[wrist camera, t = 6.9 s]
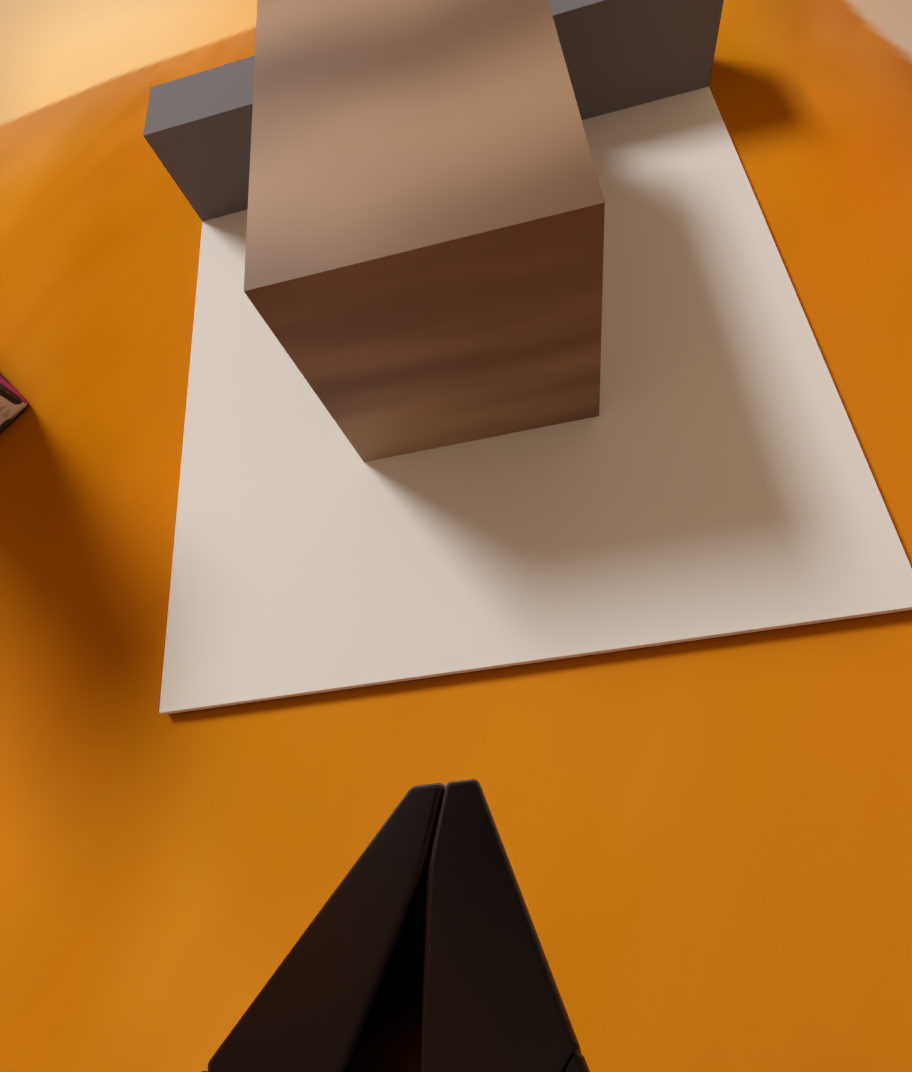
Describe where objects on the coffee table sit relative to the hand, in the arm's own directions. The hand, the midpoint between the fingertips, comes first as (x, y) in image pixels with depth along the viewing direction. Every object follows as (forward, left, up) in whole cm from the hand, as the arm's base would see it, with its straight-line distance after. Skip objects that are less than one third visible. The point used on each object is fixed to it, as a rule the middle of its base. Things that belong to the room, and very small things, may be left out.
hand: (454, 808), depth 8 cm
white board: (+13, -9, -10) cm, 19 cm away
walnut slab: (+15, -10, -9) cm, 20 cm away
